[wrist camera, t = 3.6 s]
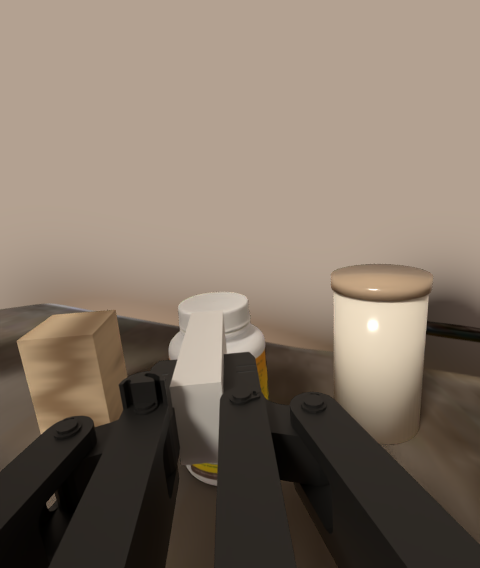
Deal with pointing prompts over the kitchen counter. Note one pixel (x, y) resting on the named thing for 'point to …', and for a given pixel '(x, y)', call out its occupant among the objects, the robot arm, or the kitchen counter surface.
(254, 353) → the supplement bottle
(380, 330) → the cream jar
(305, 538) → the kitchen counter surface
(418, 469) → the kitchen counter surface
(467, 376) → the kitchen counter surface
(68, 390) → the beech block
